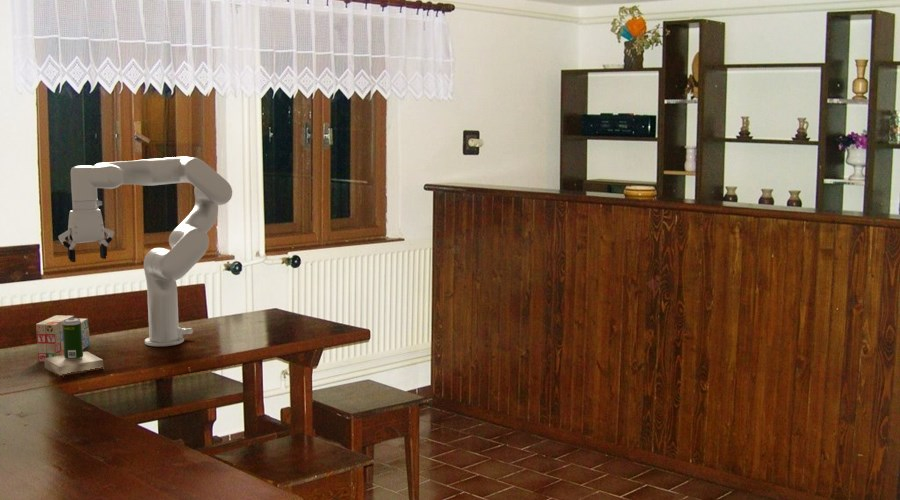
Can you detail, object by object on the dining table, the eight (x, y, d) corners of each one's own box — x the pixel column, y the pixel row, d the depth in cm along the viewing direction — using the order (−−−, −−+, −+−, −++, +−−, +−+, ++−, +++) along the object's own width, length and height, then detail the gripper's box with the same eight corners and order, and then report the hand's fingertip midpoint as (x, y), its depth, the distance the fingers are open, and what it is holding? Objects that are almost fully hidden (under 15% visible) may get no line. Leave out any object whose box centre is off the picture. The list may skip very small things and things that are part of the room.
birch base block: (87, 360, 324) (86, 351, 323) (103, 369, 314) (102, 359, 313) (44, 367, 315) (44, 358, 315) (59, 377, 306) (59, 367, 305)
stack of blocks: (72, 345, 343) (70, 308, 342) (90, 346, 343) (88, 309, 341) (37, 362, 323) (35, 323, 321) (56, 363, 322) (54, 324, 320)
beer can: (83, 360, 313) (81, 321, 311) (64, 361, 311) (62, 322, 309) (83, 356, 318) (81, 317, 316) (64, 357, 316) (62, 318, 314)
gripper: (107, 202, 333) (110, 255, 335) (52, 206, 322) (56, 261, 325) (116, 204, 327) (119, 258, 330) (61, 208, 316) (64, 264, 319)
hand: (88, 260), depth 327 cm, fingers open, 9 cm apart
